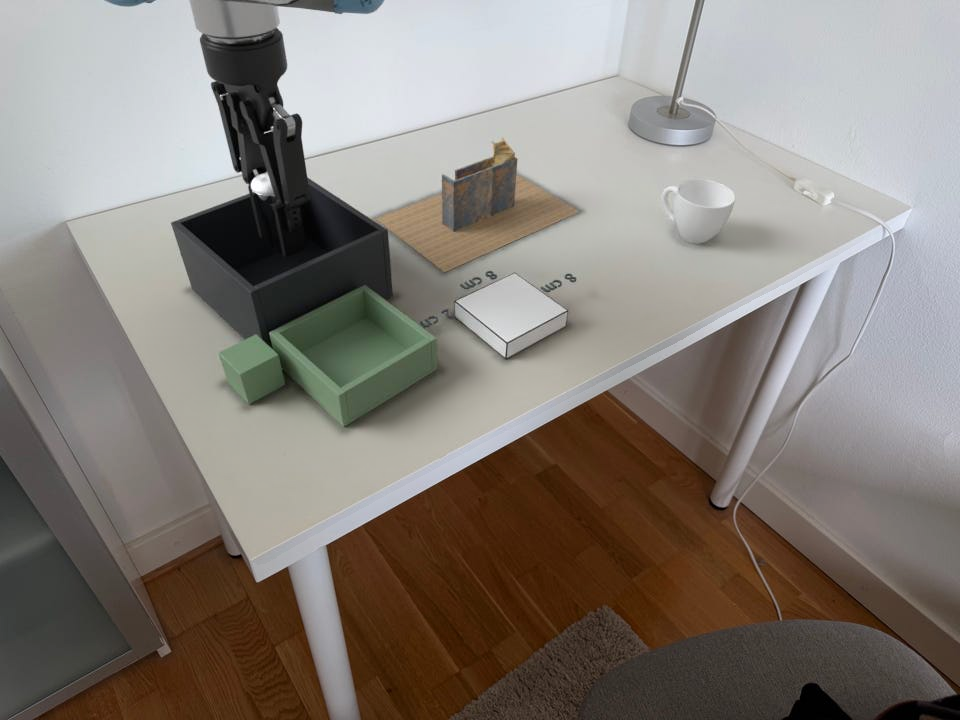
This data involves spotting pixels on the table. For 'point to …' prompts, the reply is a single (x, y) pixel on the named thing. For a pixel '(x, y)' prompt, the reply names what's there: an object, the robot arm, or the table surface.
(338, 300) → the green bin
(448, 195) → the architectural model on board
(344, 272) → the dark bin
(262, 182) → the milkshake
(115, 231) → the table surface
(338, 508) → the table surface
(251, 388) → the green block
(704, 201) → the cup
